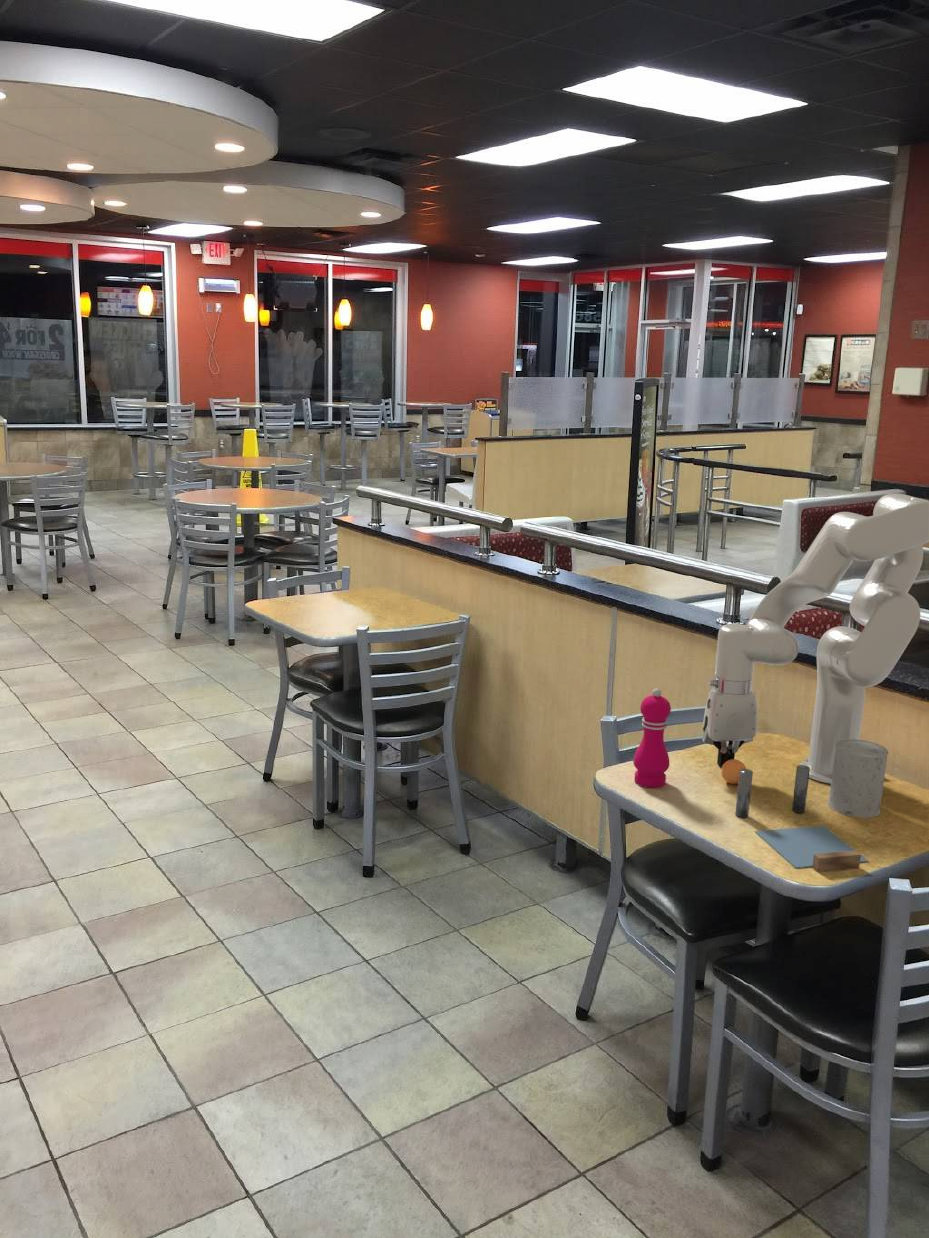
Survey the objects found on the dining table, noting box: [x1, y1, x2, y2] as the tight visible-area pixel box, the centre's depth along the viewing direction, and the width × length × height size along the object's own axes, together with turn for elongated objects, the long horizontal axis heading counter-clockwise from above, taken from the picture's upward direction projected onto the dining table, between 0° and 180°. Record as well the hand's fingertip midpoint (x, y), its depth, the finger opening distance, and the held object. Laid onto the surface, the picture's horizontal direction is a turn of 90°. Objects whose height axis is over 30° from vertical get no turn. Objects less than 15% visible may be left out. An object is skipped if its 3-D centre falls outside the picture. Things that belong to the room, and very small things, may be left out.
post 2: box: [791, 764, 810, 815], centre depth 194 cm, size 2×2×9 cm
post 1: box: [734, 768, 754, 819], centre depth 191 cm, size 2×2×9 cm
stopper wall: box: [811, 850, 862, 873], centre depth 173 cm, size 8×2×2 cm, turn 103°
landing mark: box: [754, 825, 869, 869], centre depth 181 cm, size 14×14×1 cm
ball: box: [720, 758, 747, 785], centre depth 207 cm, size 5×5×5 cm
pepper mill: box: [633, 687, 672, 789], centre depth 205 cm, size 7×7×20 cm
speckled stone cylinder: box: [827, 739, 889, 819], centre depth 196 cm, size 10×10×12 cm
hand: (724, 768), depth 211 cm, fingers closed
